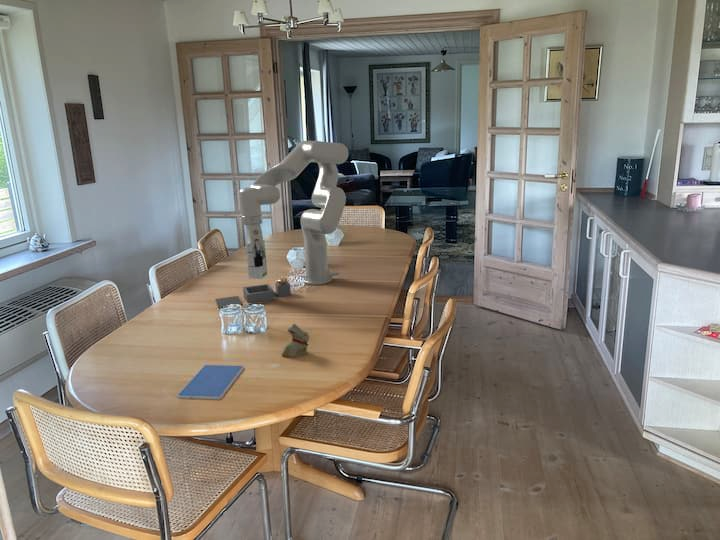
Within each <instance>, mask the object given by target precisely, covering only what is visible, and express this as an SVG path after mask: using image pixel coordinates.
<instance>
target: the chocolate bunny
mask: <svg viewBox="0 0 720 540" xmlns="http://www.w3.org/2000/svg"><path fill="white" fill-rule="evenodd" d="M287 333H289V334H290V335H291V337H292V338H291V339H292V340H291V341H289V342H287V343H286V345H285V346H284V348H283V350H282V352H281V357H285V358H298V357H299V358H300V357H303V356H306V355H307V353H308V350H307V348H308V346H309V343H308V341H309V339H310V335H309V333H308V332H307V331H305V330H302V329H301V328H300V327H299V326H298V325H297V324H296V323H292V324H291V326H290V327H288V328H287Z"/></svg>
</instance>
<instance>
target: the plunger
mask: <svg viewBox="0 0 720 540" xmlns="http://www.w3.org/2000/svg"><path fill="white" fill-rule="evenodd" d="M287 281H288V278H286V277H285V278H284V277H281V278H278V279H277V281H276V282H278V283H280V285H281V284H285V283H286V282H287Z"/></svg>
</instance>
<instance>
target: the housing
mask: <svg viewBox="0 0 720 540" xmlns="http://www.w3.org/2000/svg"><path fill="white" fill-rule="evenodd" d="M274 283H275V291H274V289H273V288H272V286H271V285H270V283H265V284H257V285H251V286H242V292H243V293H242V294H243V299H244V300H245V302H246V301H247V302H246V303H253V304H259V303H258V302H261V303H266V301H268V302H272V301H273V300H275V298H285V297H291V296H292V295H291V293H292V292H291V284H290V282H289V281H288V280H287V282H286V283H285V284H281V285H280V283H278V282H277V281H276V282H274ZM274 297H275V298H274ZM273 302H274V301H273Z"/></svg>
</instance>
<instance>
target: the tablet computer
mask: <svg viewBox="0 0 720 540" xmlns="http://www.w3.org/2000/svg"><path fill="white" fill-rule="evenodd" d="M243 370H245V367H244V366H243V365H227V364H226V365H222V364H221V365H220V364H218V365H217V364H216V365H215V364H213V365H212V364H205V365H202V367H201V368H200V369H199V371H198V372H197V373H196V374H195V375H194V376H193V377H192V378H191V379H190V380H189V381H188V383H187V384H186V385H185V386H184V387H182V388H181V390H180V391H179V392H178V394H177V395H176V399H186V400H188V399H189V400H214V401H215V400H216V401H218V400H222V399H223V397H224V396H225V395H226V394H227V392H228V390H229V389H230V388H231V387H232V385H233V384H234V382H235V381H236V380H237V378H238V377H239V376H240V374H241V373H242V372H243Z"/></svg>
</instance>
